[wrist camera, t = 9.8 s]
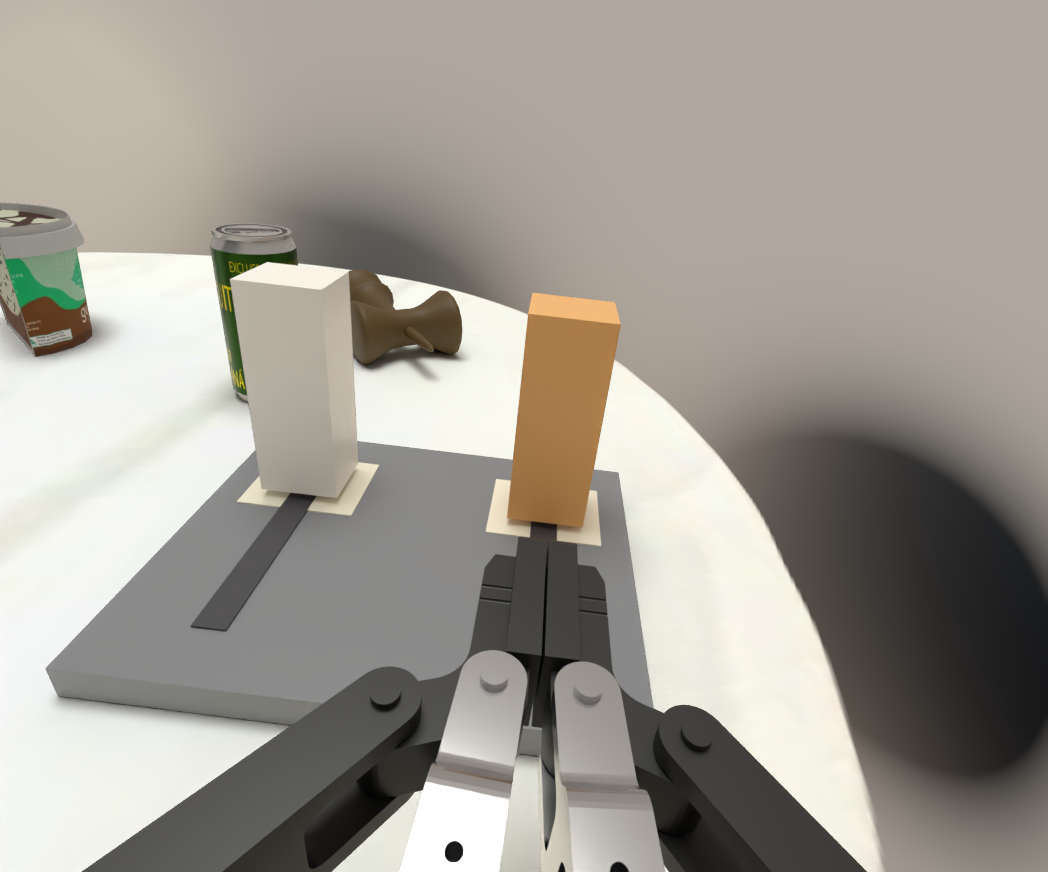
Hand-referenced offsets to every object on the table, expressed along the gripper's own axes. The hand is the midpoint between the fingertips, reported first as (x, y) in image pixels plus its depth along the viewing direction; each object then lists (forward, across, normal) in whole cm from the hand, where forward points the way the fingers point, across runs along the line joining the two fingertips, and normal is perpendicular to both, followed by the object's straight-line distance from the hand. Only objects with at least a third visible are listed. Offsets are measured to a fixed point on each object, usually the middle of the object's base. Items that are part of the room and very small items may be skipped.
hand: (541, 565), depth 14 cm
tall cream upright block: (+14, +12, +9) cm, 21 cm away
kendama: (+41, +15, +12) cm, 46 cm away
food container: (+34, +42, +11) cm, 56 cm away
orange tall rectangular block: (+14, -1, +8) cm, 17 cm away
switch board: (+10, +6, +10) cm, 16 cm away
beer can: (+28, +21, +11) cm, 36 cm away
